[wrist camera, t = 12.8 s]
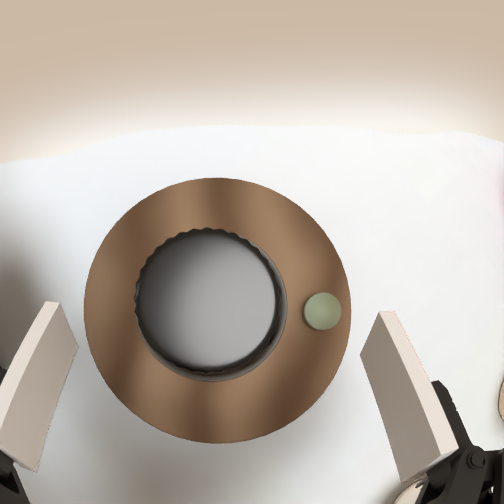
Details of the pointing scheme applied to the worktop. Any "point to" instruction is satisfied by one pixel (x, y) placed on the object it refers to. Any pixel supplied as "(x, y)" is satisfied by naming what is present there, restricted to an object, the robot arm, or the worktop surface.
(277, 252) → the stand
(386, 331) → the robot arm
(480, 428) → the worktop surface
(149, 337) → the supplement bottle
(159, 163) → the worktop surface
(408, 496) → the lidded jar
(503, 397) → the teacup with lid
